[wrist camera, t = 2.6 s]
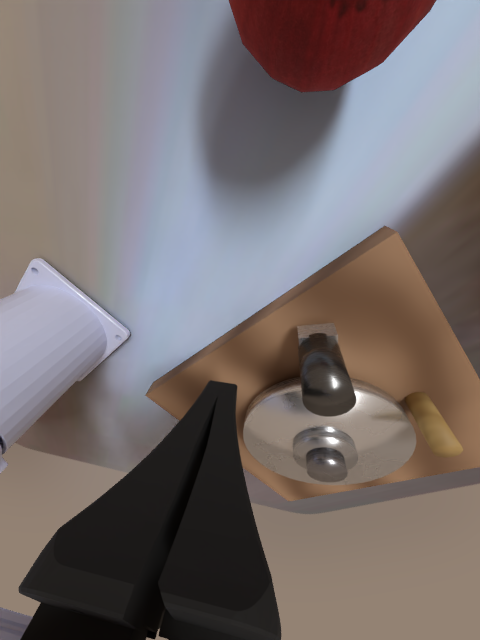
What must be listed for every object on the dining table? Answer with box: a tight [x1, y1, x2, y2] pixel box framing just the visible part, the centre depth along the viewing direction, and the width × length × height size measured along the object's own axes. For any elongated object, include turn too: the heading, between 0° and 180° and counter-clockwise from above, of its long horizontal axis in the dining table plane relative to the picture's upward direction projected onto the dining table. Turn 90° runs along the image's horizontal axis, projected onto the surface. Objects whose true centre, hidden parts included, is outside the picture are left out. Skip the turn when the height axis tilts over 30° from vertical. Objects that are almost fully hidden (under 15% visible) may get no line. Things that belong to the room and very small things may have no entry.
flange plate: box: [243, 323, 416, 485], centre depth 15 cm, size 16×12×4 cm
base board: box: [146, 226, 480, 501], centre depth 18 cm, size 21×21×5 cm
